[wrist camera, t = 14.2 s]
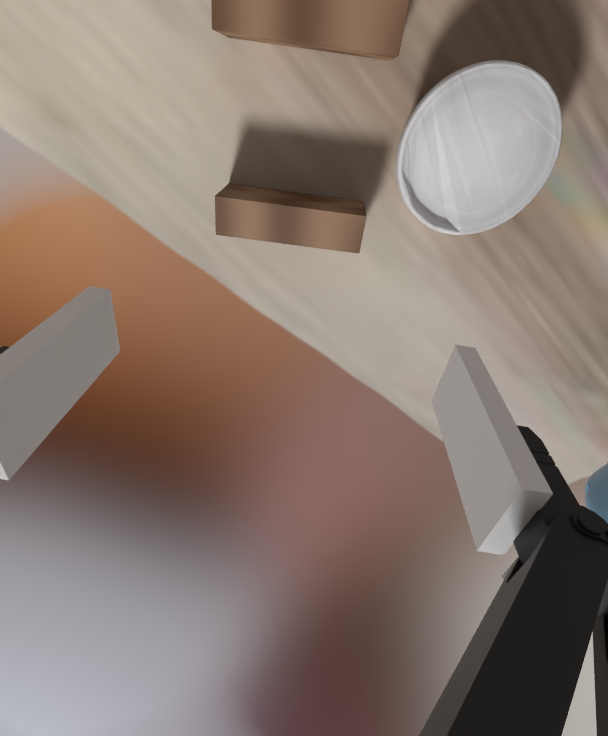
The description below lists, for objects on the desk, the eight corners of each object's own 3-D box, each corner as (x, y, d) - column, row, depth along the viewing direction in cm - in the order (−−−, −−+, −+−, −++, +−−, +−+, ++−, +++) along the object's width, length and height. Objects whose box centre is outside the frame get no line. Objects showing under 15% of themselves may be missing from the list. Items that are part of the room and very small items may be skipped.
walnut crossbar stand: (399, 6, 27) (411, -9, 23) (355, 235, 37) (359, 253, 33) (228, -19, 27) (210, -38, 23) (228, 218, 36) (215, 234, 32)
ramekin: (361, 167, 34) (366, 178, 29) (462, 24, 28) (486, 12, 24) (454, 243, 37) (471, 263, 32) (561, 129, 31) (598, 135, 27)
